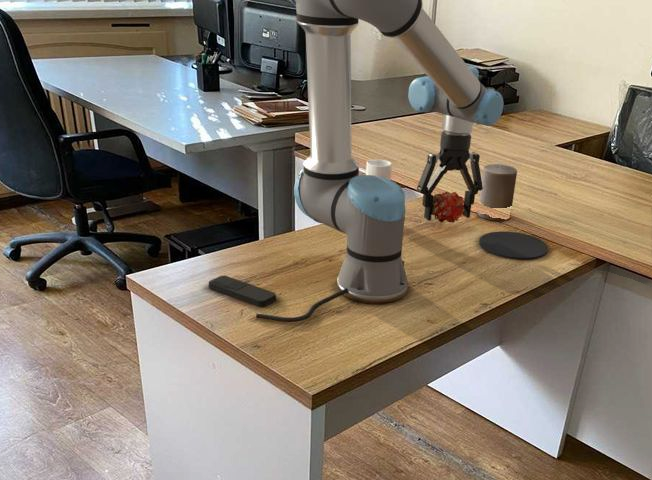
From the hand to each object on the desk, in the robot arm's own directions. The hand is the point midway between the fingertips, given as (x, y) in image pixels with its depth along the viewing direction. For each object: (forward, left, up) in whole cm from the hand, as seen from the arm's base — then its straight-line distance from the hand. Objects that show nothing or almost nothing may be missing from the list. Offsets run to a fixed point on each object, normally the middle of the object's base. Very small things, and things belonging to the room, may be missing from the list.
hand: (447, 217), depth 184 cm
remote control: (-59, -22, -4) cm, 63 cm away
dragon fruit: (0, 0, -1) cm, 1 cm away
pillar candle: (+20, +9, -4) cm, 23 cm away
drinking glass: (-14, +15, -4) cm, 21 cm away
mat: (+13, -13, -4) cm, 19 cm away
